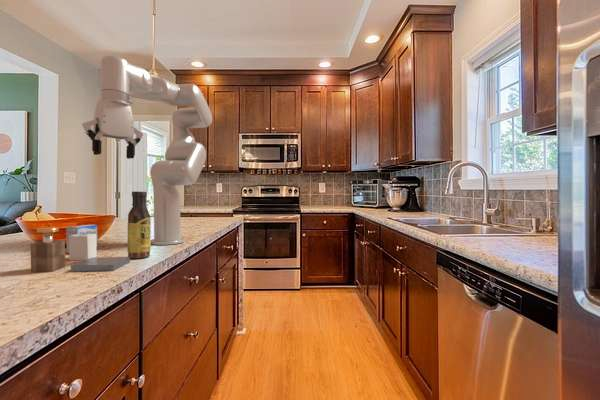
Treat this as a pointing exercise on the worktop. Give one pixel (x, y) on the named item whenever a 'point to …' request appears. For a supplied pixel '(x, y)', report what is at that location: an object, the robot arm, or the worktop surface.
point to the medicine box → (80, 232)
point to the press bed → (100, 264)
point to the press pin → (47, 233)
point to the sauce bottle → (139, 227)
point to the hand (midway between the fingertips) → (114, 156)
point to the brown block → (47, 256)
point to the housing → (82, 246)
